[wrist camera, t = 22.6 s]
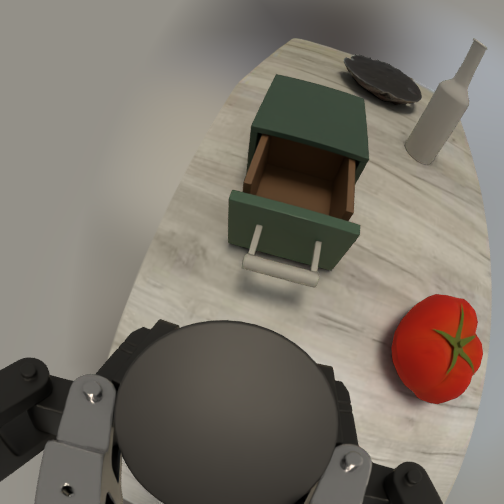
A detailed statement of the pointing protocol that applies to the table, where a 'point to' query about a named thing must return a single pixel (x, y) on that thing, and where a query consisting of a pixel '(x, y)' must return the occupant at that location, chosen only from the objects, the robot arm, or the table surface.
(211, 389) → the plastic container
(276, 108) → the cabinet
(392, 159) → the table surface
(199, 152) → the table surface
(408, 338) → the tomato
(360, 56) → the rough clay dish
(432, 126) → the bottle
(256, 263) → the drawer
